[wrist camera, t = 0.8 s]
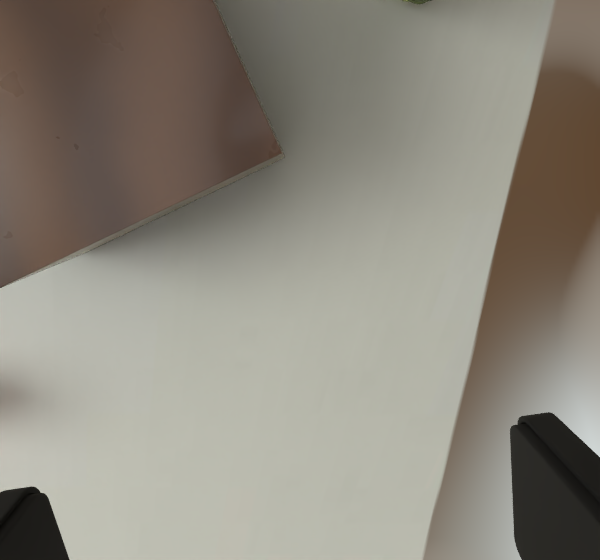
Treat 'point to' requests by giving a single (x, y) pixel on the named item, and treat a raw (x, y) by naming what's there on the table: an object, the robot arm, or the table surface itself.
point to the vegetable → (418, 1)
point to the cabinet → (115, 121)
